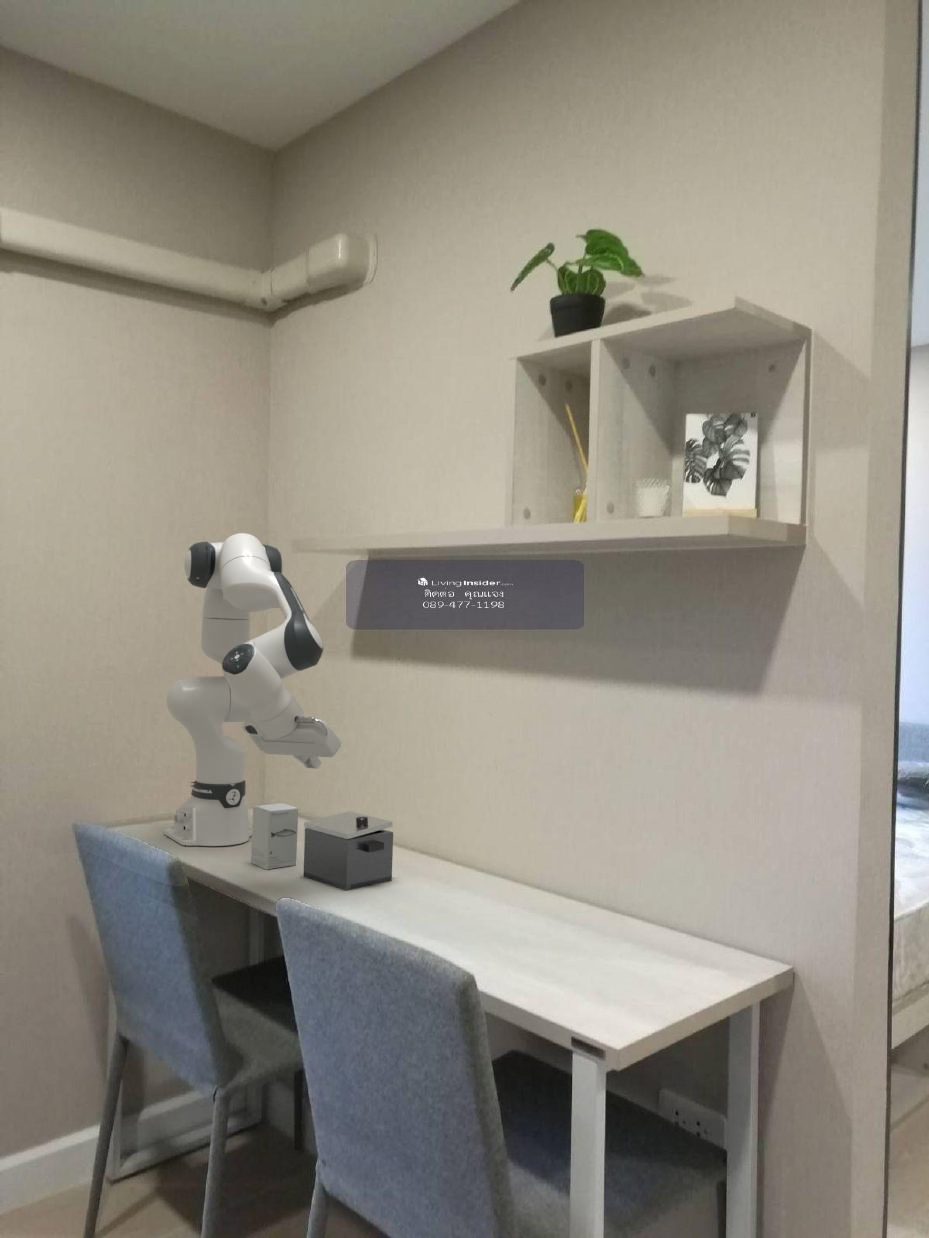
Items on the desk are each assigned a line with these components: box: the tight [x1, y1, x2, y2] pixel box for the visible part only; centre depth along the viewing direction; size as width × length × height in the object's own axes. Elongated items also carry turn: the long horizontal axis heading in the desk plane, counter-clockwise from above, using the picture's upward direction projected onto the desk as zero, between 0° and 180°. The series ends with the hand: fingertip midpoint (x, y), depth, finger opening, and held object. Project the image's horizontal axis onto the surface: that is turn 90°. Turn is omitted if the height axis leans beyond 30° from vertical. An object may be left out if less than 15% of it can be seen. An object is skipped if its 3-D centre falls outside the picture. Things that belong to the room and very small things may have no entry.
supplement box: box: [250, 802, 299, 871], centre depth 214 cm, size 7×7×13 cm
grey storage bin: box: [303, 827, 394, 892], centre depth 204 cm, size 18×12×10 cm
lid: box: [303, 810, 394, 839], centre depth 204 cm, size 14×12×3 cm
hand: (314, 766), depth 198 cm, fingers closed
